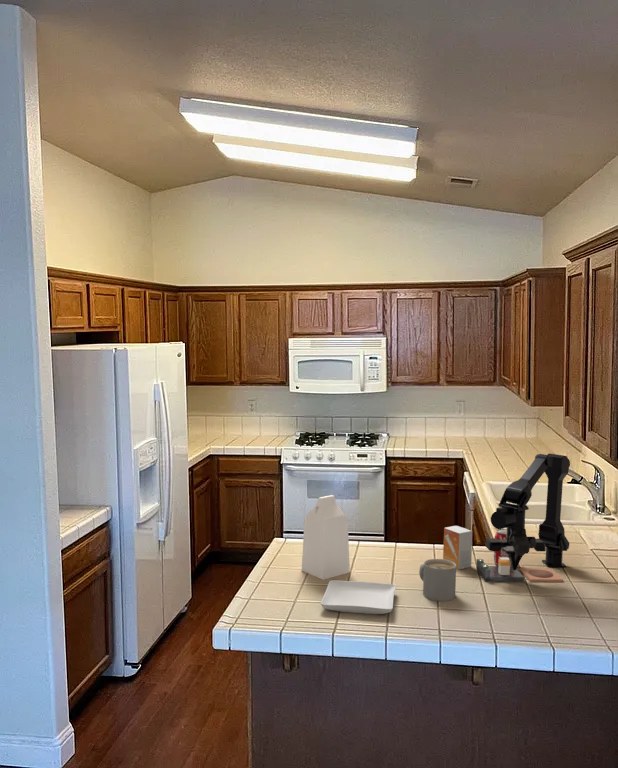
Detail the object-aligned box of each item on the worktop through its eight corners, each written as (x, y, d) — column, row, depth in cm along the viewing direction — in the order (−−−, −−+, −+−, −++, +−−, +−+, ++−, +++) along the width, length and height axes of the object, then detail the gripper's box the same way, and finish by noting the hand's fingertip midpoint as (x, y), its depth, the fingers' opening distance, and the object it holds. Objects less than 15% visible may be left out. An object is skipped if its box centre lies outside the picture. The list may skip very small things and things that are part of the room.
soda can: (518, 566, 245) (519, 533, 244) (501, 568, 243) (502, 534, 242) (505, 560, 252) (506, 527, 251) (489, 562, 249) (490, 529, 248)
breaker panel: (476, 570, 240) (476, 557, 240) (513, 570, 241) (514, 557, 240) (485, 581, 230) (485, 567, 229) (524, 581, 230) (524, 568, 229)
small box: (442, 563, 248) (443, 527, 247) (455, 560, 251) (456, 525, 250) (458, 569, 241) (459, 533, 240) (471, 567, 244) (472, 530, 243)
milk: (323, 579, 230) (324, 502, 228) (301, 570, 238) (302, 496, 237) (349, 572, 237) (351, 497, 235) (327, 563, 246) (328, 491, 244)
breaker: (497, 572, 233) (498, 559, 233) (507, 572, 233) (507, 559, 233) (500, 575, 231) (500, 562, 230) (509, 575, 231) (510, 562, 230)
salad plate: (329, 588, 222) (329, 578, 222) (396, 593, 219) (396, 583, 219) (319, 615, 202) (319, 603, 201) (392, 620, 198) (393, 609, 198)
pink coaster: (519, 570, 241) (519, 567, 241) (550, 570, 241) (550, 568, 241) (530, 581, 230) (530, 579, 230) (562, 581, 230) (563, 579, 230)
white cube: (499, 566, 239) (499, 557, 239) (507, 566, 239) (508, 557, 239) (501, 569, 237) (501, 559, 237) (510, 569, 237) (510, 559, 237)
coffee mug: (461, 598, 214) (462, 566, 214) (434, 603, 211) (435, 570, 210) (437, 584, 227) (438, 554, 226) (411, 588, 223) (412, 557, 222)
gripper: (495, 530, 223) (493, 578, 224) (552, 531, 223) (551, 578, 224) (485, 521, 234) (484, 566, 235) (540, 521, 234) (538, 567, 235)
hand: (514, 569), depth 232 cm, fingers closed
